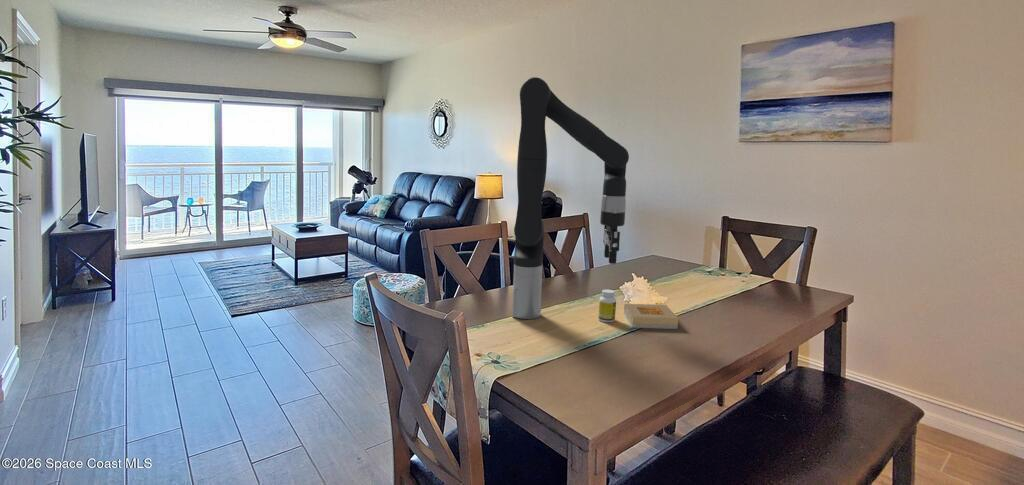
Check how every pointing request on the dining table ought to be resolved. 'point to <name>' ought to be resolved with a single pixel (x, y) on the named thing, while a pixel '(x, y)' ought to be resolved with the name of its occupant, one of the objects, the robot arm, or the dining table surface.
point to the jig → (650, 316)
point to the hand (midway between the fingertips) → (609, 260)
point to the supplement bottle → (607, 306)
